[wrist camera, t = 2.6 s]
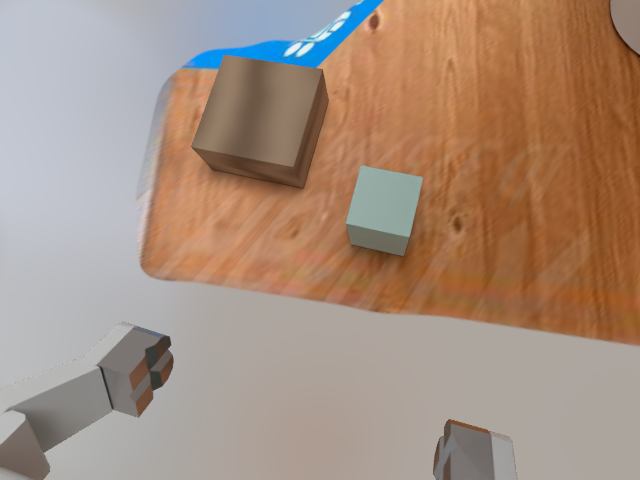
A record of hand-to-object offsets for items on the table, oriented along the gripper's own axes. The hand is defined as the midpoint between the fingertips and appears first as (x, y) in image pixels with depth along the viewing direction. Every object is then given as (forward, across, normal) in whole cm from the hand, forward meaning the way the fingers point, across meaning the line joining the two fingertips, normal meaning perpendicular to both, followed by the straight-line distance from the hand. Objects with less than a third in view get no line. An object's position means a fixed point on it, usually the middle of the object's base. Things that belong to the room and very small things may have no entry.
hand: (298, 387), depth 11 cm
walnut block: (+32, +13, +4) cm, 35 cm away
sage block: (+27, 0, +9) cm, 28 cm away
